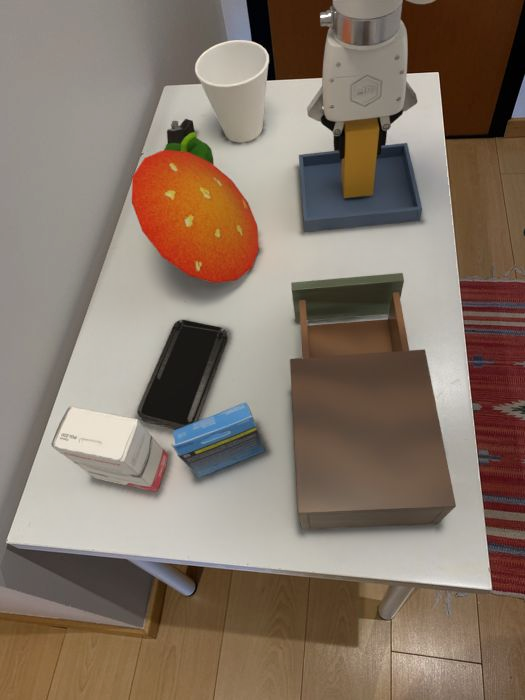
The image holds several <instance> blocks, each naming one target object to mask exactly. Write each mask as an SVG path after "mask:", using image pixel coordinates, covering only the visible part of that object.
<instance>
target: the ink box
mask: <svg viewBox="0 0 525 700" xmlns="http://www.w3.org/2000/svg"><path fill="white" fill-rule="evenodd" d="M50 445H51V448H53V449H54V450H55V451H57V452H58V453H59V454H61V455H62V456H64V457H65V458H67V459H68V460H70V461H71V462H72V463H74V464H75V465H77V467H79V468H81V469H82V470H83V471H85V472H86V473H87V474H89V475H90V476H92V477H93V478H94V479H96V480H100V481H104V482H105V481H106V482H110V483H114V484H119V485H124V486H128V487H133V488H136V489H137V488H138V489H142V490H146V491H150V492H151V491H152V492H158V491H159V488H160V485H161V482H162V479H163V476H164V473H165V470H166V466H167V463H168V459H169V455H168V453H167V452H166V451H165V450H164V449H163V447H162V446H161V445H160V444H159V442H157V439H155V438H154V437H153V436H152V434H151V433H150V432H149V431H148V430H147V428H146V427H145V426H144V425H143V424H142V422H141V421H140V419H138V418H133V417H127V416H123V415H118V414H117V415H116V414H112V413H107V412H101V411H96V410H91V409H86V408H80V407H74V406H68V407H67V409H66V411H65V412H64V414H63V416H62V417H61V420H60V421H59V423H58V425H57V428H56V430H55V433H54V436H53V438H52V440H51V443H50Z"/></svg>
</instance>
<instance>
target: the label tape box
mask: <svg viewBox="0 0 525 700" xmlns="http://www.w3.org/2000/svg"><path fill="white" fill-rule="evenodd" d="M172 434H173V435H172V436H173V439H174V444H171V445H170V446H171V447H172V448H173V450H174V451H175V453H176V455H177V457H178V458H179V459H180V460H181V461H183V463H184V464H185V465H186V466H187V467H188V468H189V469H190V470H191V471H192V473H194V475H195V476H197V477H198V478H201V477H204V476H207V475H209V474H211V473H214V472H216V471H219V470H222V469H224V468H227V467H229V466H232V465H235V464H237V463H239V462H243V461H244V460H247V459H249V458H252V457H254V456H256V455H259V454H261V453H263V452H266V448H265V445H264V442H263V439H262V436H261V434H260V431H259V427H258V425H257V423H256V421H255V418H254V415H253V413H252V411H251V409H250V407H249V404H248V403H247V401H246V402H242V403H240V404H237V405H234V406H233V407H230V408H227V409H224V410H222V411H220V412H218V413H215V414H213V415H210V416H207V417H205V418H202V419H199V420H197V422H194V423H192V424H189V425H187V426H184V427H182V428H179V429H174V430H172Z"/></svg>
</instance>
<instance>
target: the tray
mask: <svg viewBox="0 0 525 700" xmlns="http://www.w3.org/2000/svg"><path fill="white" fill-rule="evenodd" d="M410 153H411V152H410V149H409V144H408V142H403V143H393V144H386V145H383V146H382V147H381V155H377V157H376V167H375V177H374V188H373V195H371V196H361V197H351V198H344V195H343V188H342V180H341V166H342V159H340V158H339V150H337V151H334V150H330V151H322V152H321V151H319V152H311V153H302V154H298V162H299V177H300V190H301V202H302V215H303V227H304V228H303V229H304V233H309V232H318V231H329V230H339V229H340V230H341V229H352V228H361V227H371V226H380V225H391V224H393V225H394V224H402V223H411V222H420V221H421V217H422V213H423V205H422V202H421V197H420V192H419V189H418V183H417V180H416V179H417V178H416V175H415V171H414V166H413V162H412V159H411V154H410Z"/></svg>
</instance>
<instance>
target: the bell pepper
mask: <svg viewBox="0 0 525 700" xmlns="http://www.w3.org/2000/svg"><path fill="white" fill-rule="evenodd" d="M163 150H170V151H181V152H189V153H191V154H193V155H195V156H197V157H199V158H202V159H204V160H206V161H208V162H210V163H212V164H213V165H214V155H213V151H212V148H211V147H210V146H209V145H208V143H206V142H204V141H203V140H200V139H199V138H198V137H197V132H196V131H195V132H192V133H190V134H188V135H187V136H186V137H185V138H184V139H183V141H182V142H181V143H180V144H179V143H170V144H168V143H166V144H165V147H164V149H163ZM214 166H215V165H214Z"/></svg>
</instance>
